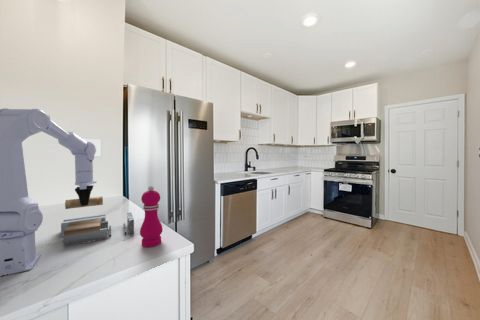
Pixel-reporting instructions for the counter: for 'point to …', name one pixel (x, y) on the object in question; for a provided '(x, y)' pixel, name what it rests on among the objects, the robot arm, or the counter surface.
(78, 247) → the counter surface
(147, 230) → the pepper mill
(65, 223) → the roller stand
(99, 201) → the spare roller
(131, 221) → the stop rail
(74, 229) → the slab
